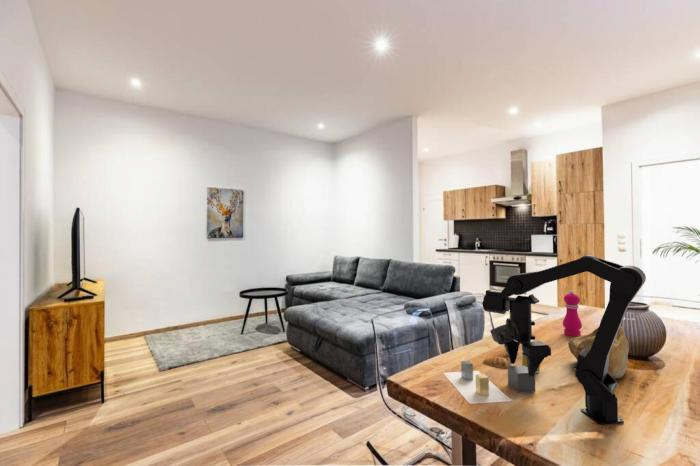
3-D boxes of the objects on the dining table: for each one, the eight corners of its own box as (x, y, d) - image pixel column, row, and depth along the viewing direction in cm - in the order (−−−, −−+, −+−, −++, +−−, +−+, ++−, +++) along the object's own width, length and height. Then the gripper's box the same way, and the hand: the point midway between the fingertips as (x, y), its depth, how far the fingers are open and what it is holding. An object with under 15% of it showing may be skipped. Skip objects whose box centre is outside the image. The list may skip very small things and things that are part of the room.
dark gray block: (535, 395, 97) (535, 372, 97) (518, 396, 96) (517, 373, 96) (524, 387, 102) (524, 365, 102) (508, 388, 102) (507, 366, 101)
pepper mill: (559, 333, 153) (558, 289, 153) (569, 331, 156) (568, 288, 156) (575, 337, 147) (574, 292, 147) (585, 335, 150) (584, 290, 150)
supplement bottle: (542, 374, 111) (541, 344, 111) (524, 373, 112) (524, 343, 112) (536, 367, 116) (536, 339, 116) (519, 366, 117) (519, 338, 117)
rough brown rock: (582, 355, 129) (577, 316, 129) (638, 365, 115) (632, 321, 116) (556, 374, 114) (551, 329, 115) (616, 387, 101) (610, 337, 102)
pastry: (482, 369, 116) (482, 358, 116) (483, 362, 122) (482, 352, 122) (513, 373, 112) (512, 362, 112) (511, 366, 118) (511, 355, 118)
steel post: (473, 379, 105) (472, 364, 105) (464, 380, 105) (464, 364, 105) (469, 376, 107) (469, 360, 107) (461, 376, 107) (461, 361, 107)
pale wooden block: (488, 395, 95) (488, 377, 95) (480, 396, 95) (479, 378, 95) (484, 391, 97) (484, 373, 97) (475, 391, 97) (475, 374, 97)
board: (512, 405, 92) (512, 401, 92) (469, 408, 91) (469, 403, 91) (478, 374, 112) (478, 370, 112) (443, 376, 111) (443, 372, 111)
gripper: (479, 310, 108) (480, 359, 108) (512, 326, 89) (513, 385, 89) (512, 309, 109) (513, 357, 109) (551, 324, 90) (553, 383, 90)
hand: (521, 369), depth 99 cm, fingers open, 9 cm apart
